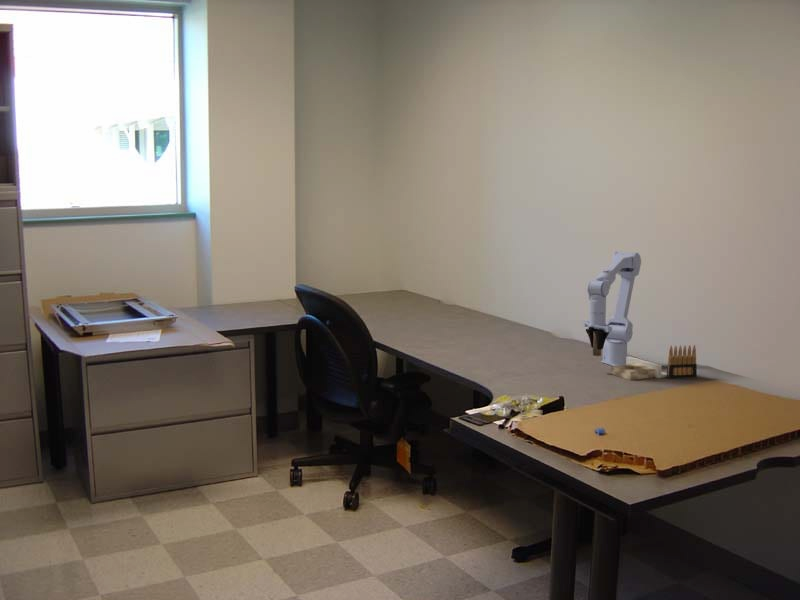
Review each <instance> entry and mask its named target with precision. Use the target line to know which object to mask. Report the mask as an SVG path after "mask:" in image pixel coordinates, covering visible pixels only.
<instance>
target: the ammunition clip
mask: <svg viewBox="0 0 800 600" xmlns="http://www.w3.org/2000/svg"><path fill="white" fill-rule="evenodd" d="M696 348H697V347H696V344H694V345H693V346H692V347H691V345H690V344H689V345H688V348H687V346H686V345H684V346H683V349H682V346H681V344H680V346H679V347H677V345H675V346H674V349H673V346H672V345H670V347H669V349H668V350H669V352H668V353H669V354H668V360H667V369H666V373H667V377H666V378H667V379H671V380H672V379H692V378H693V379H696V378H698V377H697V372H698V371H697V367H698V366H697V349H696Z"/></svg>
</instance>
